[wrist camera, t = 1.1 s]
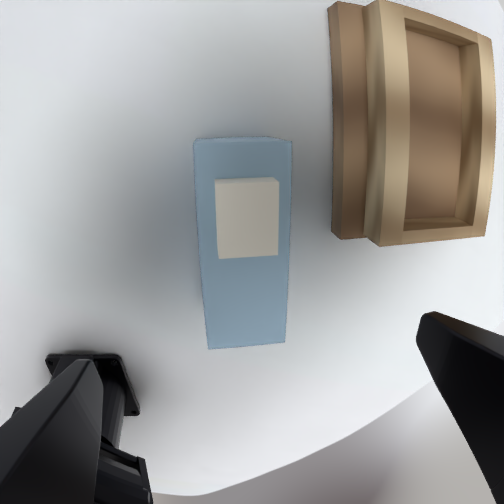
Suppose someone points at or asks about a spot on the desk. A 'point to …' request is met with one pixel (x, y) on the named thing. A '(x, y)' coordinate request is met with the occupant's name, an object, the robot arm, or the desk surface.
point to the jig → (410, 125)
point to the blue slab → (243, 237)
